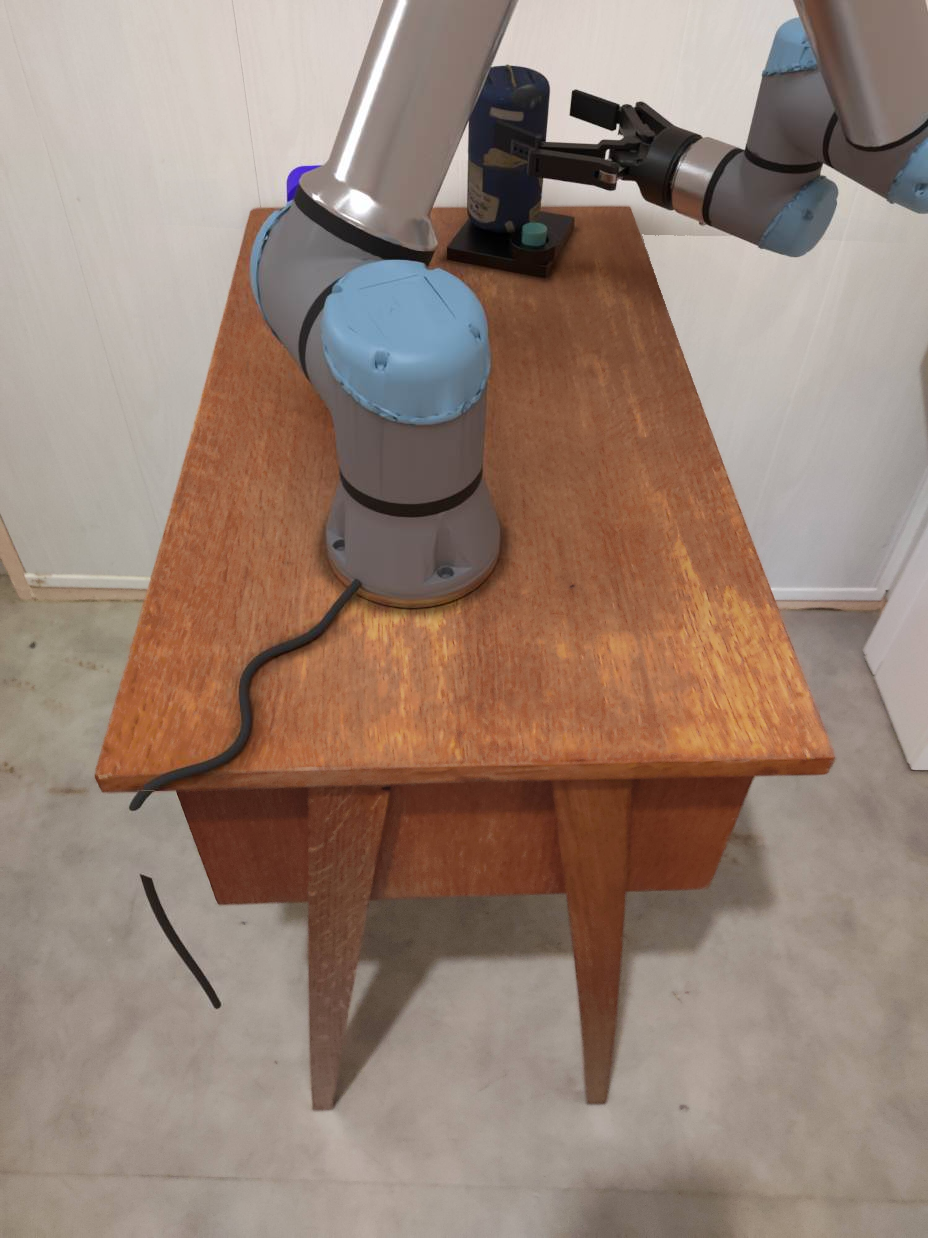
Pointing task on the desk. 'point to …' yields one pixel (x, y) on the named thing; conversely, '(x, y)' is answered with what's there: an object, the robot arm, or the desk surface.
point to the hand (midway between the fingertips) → (535, 117)
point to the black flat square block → (512, 247)
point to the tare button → (534, 234)
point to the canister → (498, 177)
